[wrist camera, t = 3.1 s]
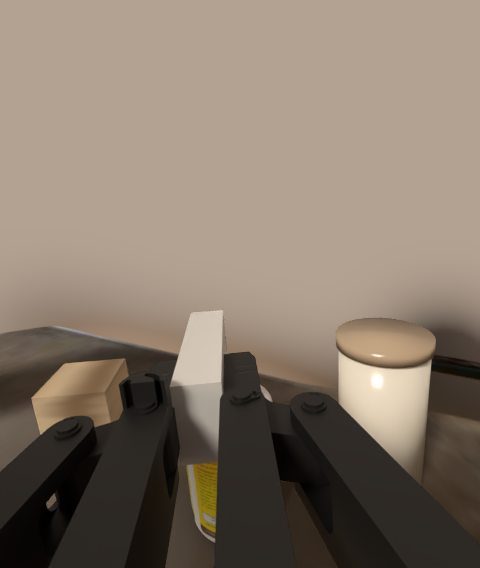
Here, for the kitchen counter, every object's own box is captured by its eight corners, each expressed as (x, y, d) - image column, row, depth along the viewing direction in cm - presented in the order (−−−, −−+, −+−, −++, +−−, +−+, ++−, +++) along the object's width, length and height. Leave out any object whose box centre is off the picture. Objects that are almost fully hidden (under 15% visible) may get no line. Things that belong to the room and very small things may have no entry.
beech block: (56, 496, 31) (31, 398, 28) (83, 448, 37) (64, 363, 34) (124, 490, 31) (104, 392, 28) (140, 443, 37) (125, 358, 34)
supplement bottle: (297, 521, 27) (291, 372, 24) (216, 572, 24) (196, 409, 20) (250, 464, 33) (240, 339, 30) (181, 499, 30) (161, 363, 26)
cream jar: (321, 470, 31) (318, 338, 28) (359, 428, 36) (361, 312, 33) (405, 519, 26) (415, 365, 23) (436, 463, 31) (448, 329, 28)
